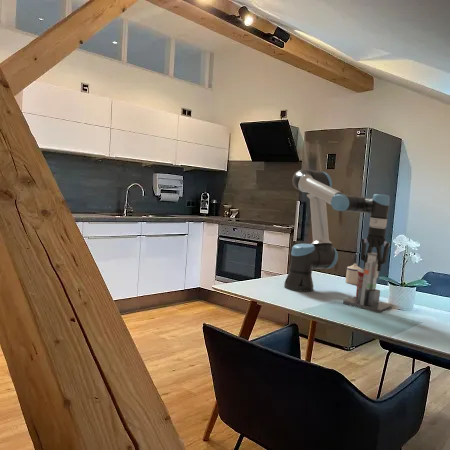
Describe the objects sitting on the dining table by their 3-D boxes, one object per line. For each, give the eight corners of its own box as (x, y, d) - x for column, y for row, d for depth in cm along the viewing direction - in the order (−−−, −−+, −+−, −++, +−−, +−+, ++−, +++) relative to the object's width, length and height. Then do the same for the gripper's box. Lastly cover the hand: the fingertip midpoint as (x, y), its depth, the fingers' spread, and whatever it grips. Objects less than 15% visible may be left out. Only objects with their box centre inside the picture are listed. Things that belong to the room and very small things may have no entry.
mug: (375, 300, 231) (378, 274, 229) (358, 298, 230) (361, 272, 229) (366, 294, 243) (369, 269, 242) (349, 293, 242) (352, 267, 241)
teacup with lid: (363, 285, 269) (366, 265, 268) (350, 284, 267) (352, 264, 266) (352, 280, 281) (355, 262, 280) (339, 280, 278) (342, 261, 277)
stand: (342, 303, 216) (348, 259, 214) (355, 299, 228) (361, 257, 226) (380, 313, 205) (386, 266, 203) (391, 308, 216) (397, 264, 215)
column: (361, 300, 216) (367, 252, 214) (365, 299, 219) (371, 252, 217) (370, 303, 213) (377, 254, 211) (374, 301, 216) (380, 253, 215)
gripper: (356, 225, 216) (350, 273, 218) (393, 230, 205) (386, 281, 207) (363, 225, 221) (357, 272, 223) (398, 229, 211) (392, 279, 213)
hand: (371, 276), depth 215 cm, fingers closed on column, 4 cm apart
